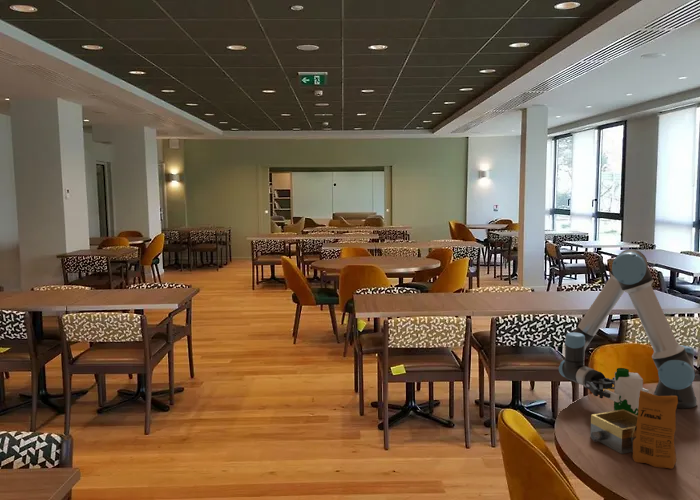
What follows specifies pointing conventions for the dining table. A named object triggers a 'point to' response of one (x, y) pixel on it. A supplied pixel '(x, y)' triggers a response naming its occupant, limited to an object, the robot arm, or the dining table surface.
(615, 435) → the open square tray
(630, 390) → the soya milk
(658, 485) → the dining table surface
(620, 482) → the dining table surface
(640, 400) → the coffee package
